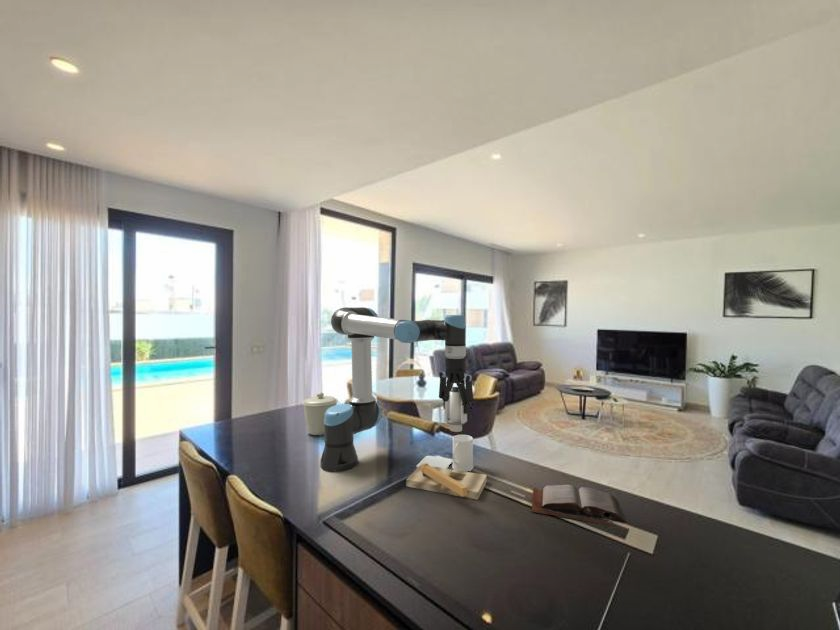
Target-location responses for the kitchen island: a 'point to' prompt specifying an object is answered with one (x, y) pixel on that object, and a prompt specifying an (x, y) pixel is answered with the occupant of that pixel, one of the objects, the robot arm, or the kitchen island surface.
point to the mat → (436, 462)
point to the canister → (317, 412)
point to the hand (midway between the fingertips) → (455, 420)
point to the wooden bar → (444, 479)
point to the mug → (462, 453)
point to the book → (577, 503)
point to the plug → (455, 410)
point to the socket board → (469, 479)
